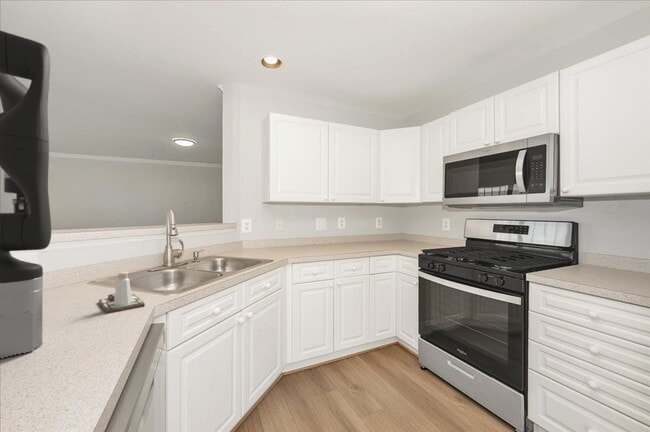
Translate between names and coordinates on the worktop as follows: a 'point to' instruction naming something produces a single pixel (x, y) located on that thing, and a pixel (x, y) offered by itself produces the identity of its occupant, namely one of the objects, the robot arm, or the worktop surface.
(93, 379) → the worktop surface
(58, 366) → the worktop surface
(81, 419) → the worktop surface
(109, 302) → the metal control panel
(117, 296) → the pepper shaker
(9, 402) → the worktop surface
